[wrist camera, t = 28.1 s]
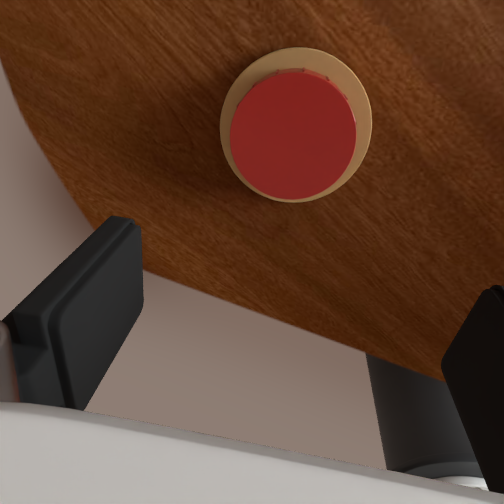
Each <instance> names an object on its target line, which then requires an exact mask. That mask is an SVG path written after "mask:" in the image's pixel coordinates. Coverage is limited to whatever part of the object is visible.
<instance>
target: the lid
mask: <svg viewBox="0 0 504 504" xmlns="http://www.w3.org/2000/svg"><path fill="white" fill-rule="evenodd" d="M347 100H348V98H347V96H346V94H343V93H342V91H341V90H340V89H339V88H338V87H337V85H336V84H334V83H333V82H332V81H331V80H330V79H329V77H328V76H326V77H325V76H324V75H322V74H319V73H317V72H315V71H311V70H308V69H305V67H303V68H302V69H301V68H290V69H283V70H280V71H279V69H277V71H276V72H274V73H271V74H269V75H267V76H265V77H264V78H262V79H261V80H259V81H258V82H255V83H254V84H253V85H252V88H251V89H250V90H249V91H248V92H247V94H246V95H245V96H244V98H243V99H242V101H240V102H239V103H238V105H237V106H236V107H237V109H236V111H235V113H234V116H233V119H232V123H231V128H230V147H231V153H232V156H233V159H234V162H235V164H236V166H237V168H238V170H239V171H240V173H241V174H242V176H243V177H244V178H245V179H246V180H247V181H248V182H249V183H250V184H251V185H252V186H253V187H255V188H256V189H257V190H259V191H261V192H263V193H264V194H267V195H269V196H272V197H275V198H280V199H288V200H295V199H303V198H308V197H311V196H314V195H317V194H319V193H321V192H323V191H324V190H326V189H327V188H329V187H330V186H332V185H333V184H334V183H335V182H336V181H337V180H338V179H339V178H340V177H341V176H342V175H343V173H344V172H345V171H346V169H347V167H348V165H349V164H350V162H351V159H352V157H353V154H354V150H355V146H356V139H357V130H356V124H357V122H356V120H355V118H354V115H353V112H352V110H351V107H350V105H349V103H348V101H347Z"/></svg>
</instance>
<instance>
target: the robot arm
mask: <svg viewBox="0 0 504 504" xmlns="http://www.w3.org/2000/svg"><path fill="white" fill-rule="evenodd" d="M143 302H144V297H143V269H142V241H141V228H140V226H138V225H135V222H134V220H133V219H129V218H123V217H118V216H110V217H109V218H108V219H107V220H106V221H105V222H104V223H103V224H102V225H101V226H100V227H99V228H98V229H97V230H96V231H95V232H93V233H92V234H91V235H90V236H89V237H88V238H87V239H86V240H85V241H84V242H83V243H82V244H81V245H80V246H79V247H78V248H77V249H76V250H75V251H74V252H73V253H72V254H71V255H70V256H69V257H68V258H67V259H65V260H64V261H63V262H62V263H61V264H60V265H59V266H58V267H57V268H56V269H55V270H54V271H53V272H52V273H51V274H50V275H49V276H48V277H46V278H45V279H44V280H43V281H42V282H41V283H40V284H39V285H38V286H37V287H36V288H35V289H34V290H33V291H32V292H31V293H30V294H29V295H28V296H27V297H26V298H25V299H24V300H23V301H22V302H21V303H20V304H18V306H16V307H15V309H13V310H12V311H11V312H10V313H9V314H8V315H7V316H6V317H5V318H4V319H3V320H2V321H0V504H504V286H500V285H494V286H492V287H491V288H490V289H485V290H484V291H483V292H482V293H481V295H480V296H479V298H478V300H477V301H476V303H475V305H474V306H473V308H472V310H471V311H470V313H469V315H468V316H467V318H466V320H465V321H464V323H463V325H462V326H461V328H460V330H459V331H458V333H457V335H456V336H455V338H454V340H453V341H452V343H451V345H450V346H449V348H448V350H447V351H446V353H445V354H444V356H443V358H442V362H441V369H442V372H443V375H444V377H445V380H446V382H447V385H448V387H449V390H450V392H451V395H452V398H453V400H454V403H455V405H456V408H457V410H458V413H459V415H460V418H461V421H462V423H463V426H464V428H465V431H466V433H467V436H468V438H469V441H470V443H471V446H472V449H473V451H474V454H475V456H476V459H477V461H478V464H479V466H480V469H481V471H482V474H483V477H484V478H478V477H471V476H448V477H440V478H435V479H428V478H423V477H418V476H413V475H409V474H404V473H399V472H394V471H389V470H383V469H379V468H374V467H369V466H364V465H359V464H354V463H349V462H344V461H339V460H335V459H330V458H325V457H320V456H315V455H310V454H305V453H300V452H295V451H290V450H285V449H280V448H275V447H270V446H265V445H259V444H255V443H249V442H245V441H239V440H234V439H229V438H224V437H219V436H214V435H209V434H204V433H199V432H194V431H188V430H183V429H178V428H173V427H168V426H163V425H158V424H152V423H148V422H142V421H137V420H131V419H125V418H120V417H114V416H109V415H103V414H98V413H92V412H86V411H84V409H85V408H86V406H87V404H88V403H89V401H90V399H91V397H92V396H93V394H94V392H95V391H96V389H97V387H98V385H99V384H100V382H101V380H102V379H103V377H104V375H105V373H106V372H107V370H108V368H109V367H110V365H111V363H112V361H113V360H114V358H115V356H116V354H117V353H118V351H119V349H120V347H121V346H122V344H123V342H124V341H125V339H126V337H127V335H128V334H129V332H130V330H131V328H132V327H133V325H134V323H135V322H136V320H137V318H138V316H139V315H140V313H141V310H142V308H143Z"/></svg>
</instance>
